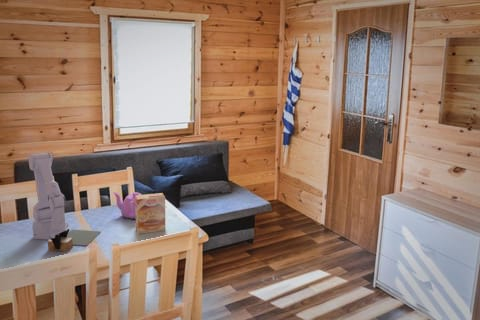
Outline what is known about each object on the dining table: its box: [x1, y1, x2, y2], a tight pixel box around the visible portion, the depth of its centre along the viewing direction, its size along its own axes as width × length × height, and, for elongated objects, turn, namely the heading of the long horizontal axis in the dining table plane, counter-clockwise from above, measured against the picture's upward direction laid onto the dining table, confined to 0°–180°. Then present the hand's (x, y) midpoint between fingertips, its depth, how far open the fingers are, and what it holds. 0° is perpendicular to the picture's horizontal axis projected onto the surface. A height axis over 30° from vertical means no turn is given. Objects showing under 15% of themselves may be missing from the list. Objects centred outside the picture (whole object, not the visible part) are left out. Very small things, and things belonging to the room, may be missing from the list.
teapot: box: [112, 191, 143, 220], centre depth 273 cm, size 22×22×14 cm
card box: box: [47, 237, 74, 253], centre depth 227 cm, size 10×5×5 cm, turn 86°
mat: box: [67, 229, 102, 247], centre depth 241 cm, size 16×18×1 cm
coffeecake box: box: [135, 192, 166, 235], centre depth 251 cm, size 15×7×20 cm, turn 112°
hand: (60, 246), depth 228 cm, fingers closed on card box, 5 cm apart
